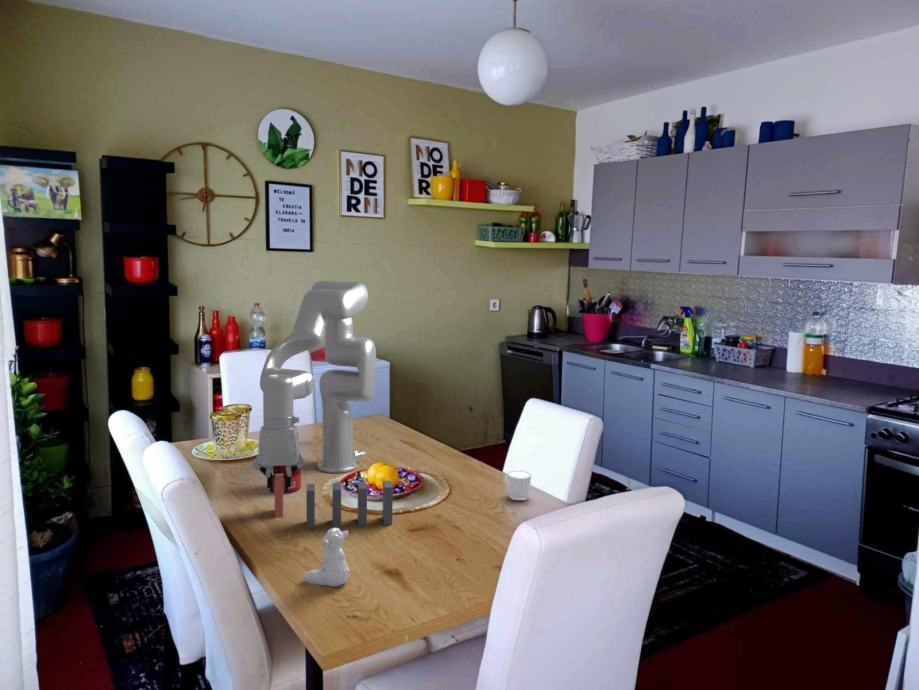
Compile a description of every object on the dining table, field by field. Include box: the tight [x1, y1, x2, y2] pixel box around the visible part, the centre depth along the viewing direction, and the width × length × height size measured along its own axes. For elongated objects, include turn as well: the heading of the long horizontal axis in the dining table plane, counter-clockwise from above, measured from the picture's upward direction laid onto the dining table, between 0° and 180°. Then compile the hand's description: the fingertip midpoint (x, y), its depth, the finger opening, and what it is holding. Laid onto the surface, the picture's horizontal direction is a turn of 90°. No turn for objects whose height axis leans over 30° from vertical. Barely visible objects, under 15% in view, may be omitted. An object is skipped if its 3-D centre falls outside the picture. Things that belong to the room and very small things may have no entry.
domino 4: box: [382, 480, 394, 526], centre depth 174 cm, size 2×5×10 cm, turn 12°
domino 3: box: [357, 481, 368, 527], centre depth 173 cm, size 2×5×10 cm, turn 12°
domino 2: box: [331, 482, 342, 529], centre depth 171 cm, size 2×5×10 cm, turn 12°
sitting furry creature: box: [303, 527, 351, 588], centre depth 142 cm, size 10×9×12 cm
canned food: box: [272, 450, 302, 495], centre depth 194 cm, size 8×8×11 cm
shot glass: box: [507, 470, 532, 498], centre depth 193 cm, size 7×7×7 cm
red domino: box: [274, 474, 285, 518], centre depth 177 cm, size 2×5×10 cm, turn 12°
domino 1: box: [306, 483, 316, 530], centre depth 170 cm, size 2×5×10 cm, turn 12°
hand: (279, 489), depth 176 cm, fingers open, 3 cm apart
